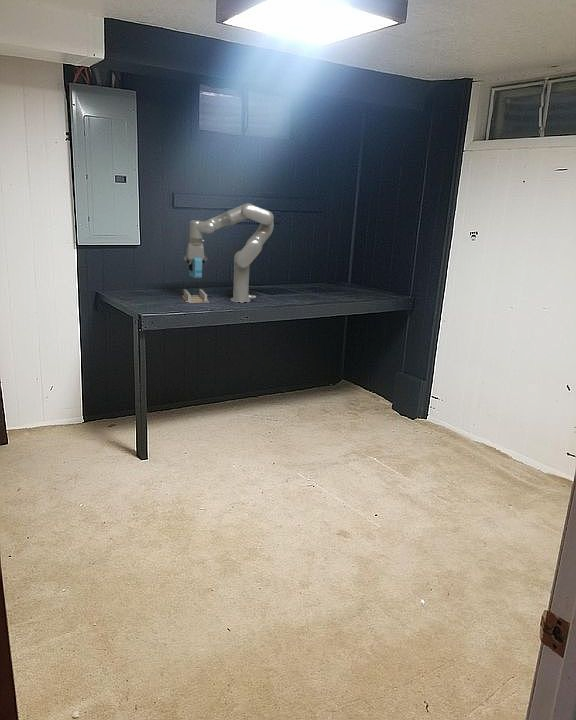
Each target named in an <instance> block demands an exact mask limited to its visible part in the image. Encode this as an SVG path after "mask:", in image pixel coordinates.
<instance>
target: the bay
mask: <svg viewBox="0 0 576 720" xmlns="http://www.w3.org/2000/svg"><path fill="white" fill-rule="evenodd" d="M181 297H183V298H182V299H183V300H185V301H184V302H185V303H186V302H189V304H190V303H191V304H194V303H195V304H197V303H198V304H201V303H202V304H207V303H208V304H209V303H210V301H209V300H208V294H207V293H206V292H205V291H204V289H202V288H201V289H200V288H199V293H198V295H197V294H195V295H194V294H193V295H192V294H191V293H190V292H189V291H188V290H187V289H186V288H183V295H181Z"/></svg>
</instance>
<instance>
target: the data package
mask: <svg viewBox="0 0 576 720" xmlns="http://www.w3.org/2000/svg"><path fill="white" fill-rule="evenodd" d="M202 261H203V260H202V259H201V258H193V260H192V262H191V265H192V271H190V270H189V269H188V275H189V277H190V278H191V277H192V278H193V279H202V277H203V265H202Z"/></svg>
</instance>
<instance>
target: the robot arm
mask: <svg viewBox="0 0 576 720" xmlns="http://www.w3.org/2000/svg"><path fill="white" fill-rule="evenodd" d="M274 218H275V217H274V214H273V212H272V211H270V210H268V209H264V208H262V207H259V206H257V205H254V204H253V203H249V202H246V203H244V204H241V205H239V206H237V207H234V208H232V209H229V210H227V211H225V212H223V213H221V214H219V215H217V216H214V217H212V218H210V219H209V218H208V219H207V220H204V221H202V220H197V219H192V220H190V222H189V242H188V243H187V250H186V251H187V252H186V254H185V256H184V257H183V260H184V261H185V262H186V263H187V264H188V271H189V270H190V271H192V265H191V262H192V260H193V258H201V259H202V266H203V265H204V263H206V261H208V260H209V259H208V258H207V256H206V255H205V247H204V243H205V242H206V241H205V239H204V238H203V234H213V233H214V232H215V231H217V230H219V229H221V228H223V227H227V226H233V225H235V224H238V223H240V222H242V221H244V220H247V219H249V220H251V221H254V222H256V223H258V224H259V226H258V228H257V229H256V230H255V232H254V233H253V234H252V235H251V236H250V237H249V238H248V239H247V241H246V242H245V245H244V246H243V247H242V249H240V250H238V251H237V252H236V253H235V254H234V256H233V258H234V259H233V291H232V294H233V295H232V297H231V298H230V302H233V303H238V302H240V303H239V304H242V303H243V304H244V302H247V303H250V302H251V299H256V297H257V296H256V295H253V294H250V293H249V292H250V291H249V288H250V285H249V284H250V282H249V281H250V265H251V263H252V262H254V260H255V259H256V258H257V257H258V256H259V254H261V251H262V249H263V245H264V244H265V243H266V241H267V240H268V239H269V238H270V236H271V235H272V233H273V231H274V227H275V226H274V224H275V222H274Z"/></svg>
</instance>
